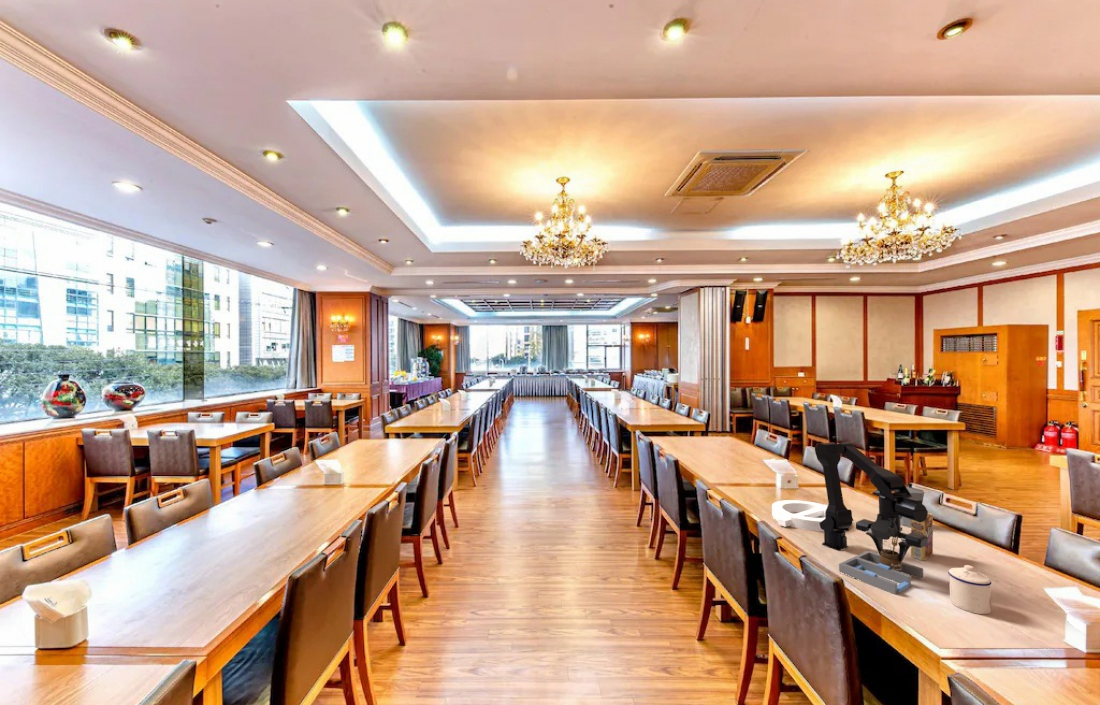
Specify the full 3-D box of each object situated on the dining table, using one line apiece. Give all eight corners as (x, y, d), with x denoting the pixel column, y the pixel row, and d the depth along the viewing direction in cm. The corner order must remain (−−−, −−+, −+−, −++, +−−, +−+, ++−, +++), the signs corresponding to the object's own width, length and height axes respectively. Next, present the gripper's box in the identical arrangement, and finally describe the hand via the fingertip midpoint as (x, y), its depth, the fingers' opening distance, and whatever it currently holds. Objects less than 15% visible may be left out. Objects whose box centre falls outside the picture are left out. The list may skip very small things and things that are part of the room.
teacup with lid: (1001, 616, 122) (1000, 574, 122) (964, 614, 123) (963, 572, 124) (967, 594, 134) (966, 555, 134) (934, 591, 135) (933, 554, 136)
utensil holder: (875, 570, 149) (874, 535, 149) (886, 567, 151) (885, 532, 151) (894, 578, 143) (894, 542, 144) (906, 574, 146) (905, 538, 146)
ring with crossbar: (779, 529, 187) (778, 517, 187) (766, 507, 214) (766, 498, 214) (854, 536, 179) (854, 524, 179) (832, 513, 206) (831, 502, 206)
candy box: (925, 561, 155) (924, 518, 155) (910, 557, 159) (909, 515, 159) (934, 555, 160) (933, 513, 160) (919, 551, 164) (918, 510, 164)
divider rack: (839, 572, 148) (839, 562, 148) (868, 558, 158) (868, 548, 158) (895, 594, 134) (895, 582, 134) (924, 577, 144) (923, 567, 144)
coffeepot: (911, 519, 196) (911, 479, 196) (934, 527, 186) (933, 485, 187) (884, 522, 192) (883, 481, 193) (905, 530, 183) (904, 487, 183)
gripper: (847, 508, 152) (848, 553, 151) (912, 525, 136) (913, 575, 135) (863, 502, 157) (864, 546, 157) (927, 518, 141) (929, 567, 141)
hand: (890, 558), depth 147 cm, fingers closed on utensil holder, 5 cm apart
